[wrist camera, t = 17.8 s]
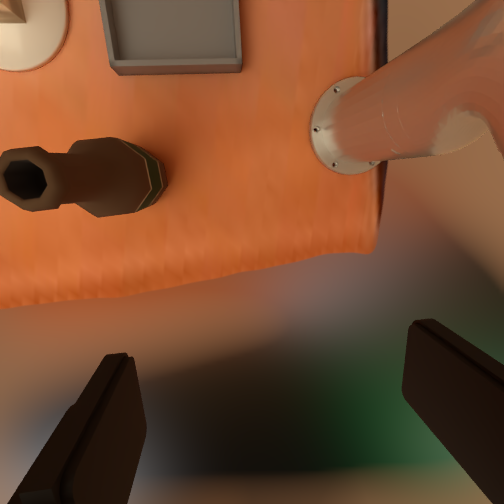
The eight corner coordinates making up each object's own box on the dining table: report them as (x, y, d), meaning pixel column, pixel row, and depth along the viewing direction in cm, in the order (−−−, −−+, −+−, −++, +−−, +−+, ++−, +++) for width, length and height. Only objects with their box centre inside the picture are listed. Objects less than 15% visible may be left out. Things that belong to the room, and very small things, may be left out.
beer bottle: (174, 157, 38) (109, 128, 15) (163, 212, 40) (89, 262, 17) (115, 140, 37) (-58, 78, 14) (106, 198, 38) (-61, 230, 15)
